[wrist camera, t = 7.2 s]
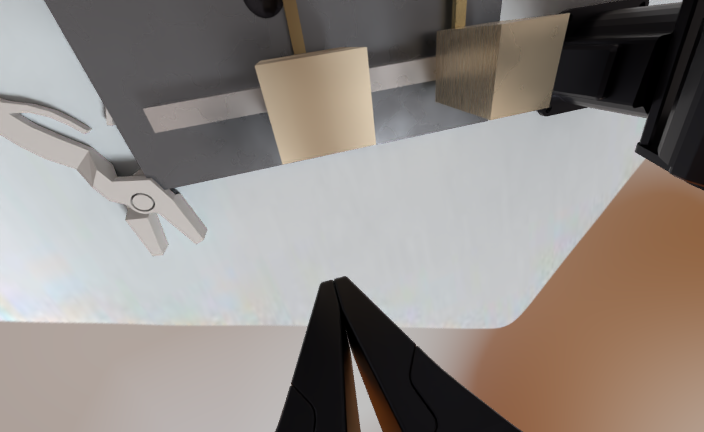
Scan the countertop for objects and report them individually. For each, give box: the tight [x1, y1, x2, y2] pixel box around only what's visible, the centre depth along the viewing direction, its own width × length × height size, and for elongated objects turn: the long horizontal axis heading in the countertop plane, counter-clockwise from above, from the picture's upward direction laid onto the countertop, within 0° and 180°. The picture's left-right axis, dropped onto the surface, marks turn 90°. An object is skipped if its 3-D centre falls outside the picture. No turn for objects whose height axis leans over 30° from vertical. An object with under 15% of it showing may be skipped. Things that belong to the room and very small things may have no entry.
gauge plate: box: [44, 0, 570, 190], centre depth 13 cm, size 22×11×7 cm, turn 98°
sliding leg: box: [255, 0, 376, 164], centre depth 12 cm, size 4×7×6 cm, turn 8°
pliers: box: [0, 98, 207, 256], centre depth 15 cm, size 10×2×15 cm
